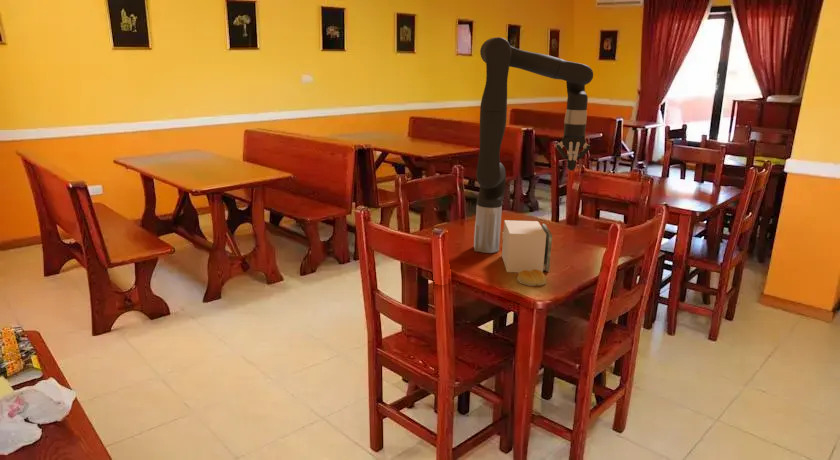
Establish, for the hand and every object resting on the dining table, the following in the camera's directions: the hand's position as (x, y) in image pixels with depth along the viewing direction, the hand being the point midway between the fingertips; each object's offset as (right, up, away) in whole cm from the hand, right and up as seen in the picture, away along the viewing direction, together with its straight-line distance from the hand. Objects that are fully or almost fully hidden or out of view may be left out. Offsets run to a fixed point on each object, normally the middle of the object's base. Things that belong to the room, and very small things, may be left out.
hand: (570, 170), depth 211 cm
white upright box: (-20, -34, -10) cm, 41 cm away
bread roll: (-19, -39, -25) cm, 50 cm away
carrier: (-18, -34, -10) cm, 39 cm away
